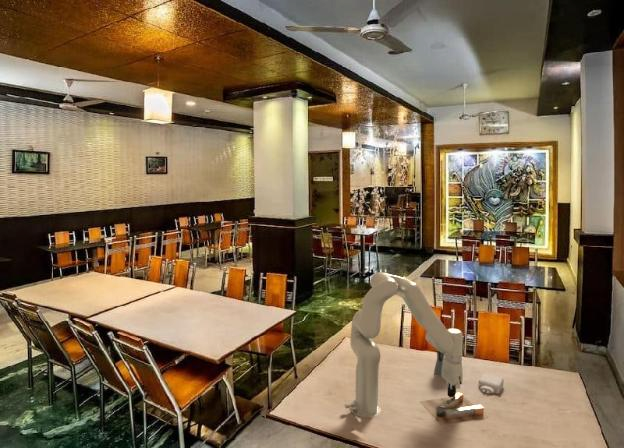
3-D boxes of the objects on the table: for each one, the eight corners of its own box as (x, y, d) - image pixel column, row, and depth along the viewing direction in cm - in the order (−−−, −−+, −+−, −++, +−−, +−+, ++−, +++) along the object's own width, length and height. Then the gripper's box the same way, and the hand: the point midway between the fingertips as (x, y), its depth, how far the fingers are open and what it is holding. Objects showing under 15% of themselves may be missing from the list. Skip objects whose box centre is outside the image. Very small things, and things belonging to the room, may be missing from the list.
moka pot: (456, 370, 216) (458, 333, 214) (449, 382, 203) (450, 343, 201) (438, 366, 221) (439, 330, 219) (429, 377, 208) (430, 339, 206)
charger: (474, 394, 193) (483, 381, 205) (495, 400, 187) (503, 387, 199) (475, 384, 192) (483, 372, 204) (496, 390, 187) (503, 377, 199)
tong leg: (441, 417, 171) (441, 410, 171) (434, 414, 173) (434, 407, 173) (464, 401, 184) (464, 394, 184) (458, 398, 186) (458, 392, 186)
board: (441, 427, 167) (441, 424, 166) (419, 404, 184) (419, 401, 184) (488, 420, 172) (488, 417, 172) (462, 397, 189) (463, 395, 189)
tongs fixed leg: (447, 420, 169) (447, 413, 169) (444, 416, 172) (444, 409, 171) (483, 414, 173) (483, 407, 173) (479, 411, 176) (480, 404, 175)
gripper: (436, 351, 190) (435, 389, 192) (455, 365, 176) (453, 406, 178) (450, 349, 192) (449, 387, 194) (470, 363, 178) (469, 403, 180)
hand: (451, 396), depth 186 cm, fingers closed
